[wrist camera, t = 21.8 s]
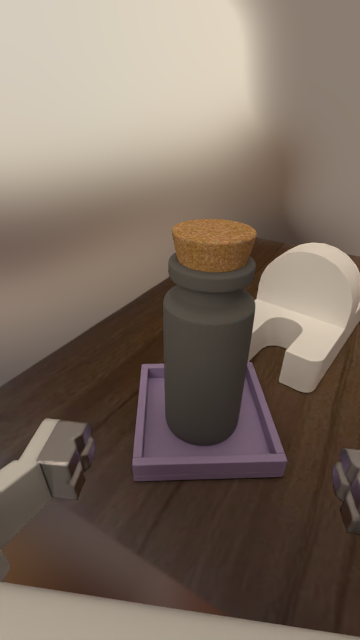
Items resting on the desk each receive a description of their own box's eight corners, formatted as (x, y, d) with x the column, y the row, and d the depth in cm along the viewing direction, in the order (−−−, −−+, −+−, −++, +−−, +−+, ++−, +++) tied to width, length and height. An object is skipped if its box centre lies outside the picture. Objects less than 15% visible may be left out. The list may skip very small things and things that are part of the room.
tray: (283, 477, 22) (288, 461, 21) (133, 481, 22) (131, 465, 21) (249, 376, 31) (252, 361, 30) (142, 378, 30) (141, 363, 29)
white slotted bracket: (362, 316, 40) (391, 236, 35) (310, 396, 28) (342, 294, 23) (289, 294, 46) (304, 221, 40) (219, 353, 34) (228, 261, 28)
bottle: (205, 380, 29) (217, 211, 21) (253, 422, 25) (290, 232, 17) (151, 409, 26) (141, 225, 18) (196, 461, 22) (208, 254, 14)
